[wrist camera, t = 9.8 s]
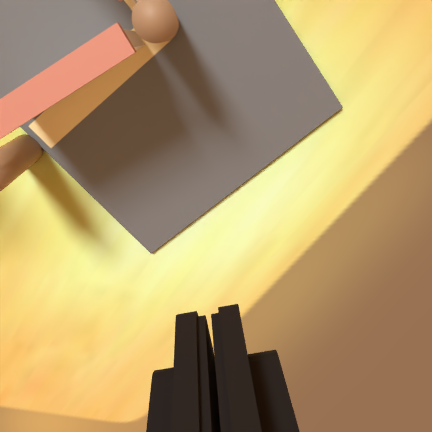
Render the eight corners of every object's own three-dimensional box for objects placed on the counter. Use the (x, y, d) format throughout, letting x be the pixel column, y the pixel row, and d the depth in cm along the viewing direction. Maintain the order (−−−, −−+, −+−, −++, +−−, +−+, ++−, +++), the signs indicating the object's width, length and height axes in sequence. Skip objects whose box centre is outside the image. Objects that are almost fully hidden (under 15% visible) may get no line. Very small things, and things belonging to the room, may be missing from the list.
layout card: (101, -270, 22) (99, -275, 21) (341, 106, 31) (343, 107, 31) (-120, -12, 26) (-124, -12, 26) (151, 251, 35) (151, 254, 35)
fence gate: (135, 26, 27) (116, 22, 20) (148, 48, 28) (135, 52, 20) (17, 102, 29) (-41, 125, 21) (32, 122, 29) (-19, 150, 22)
